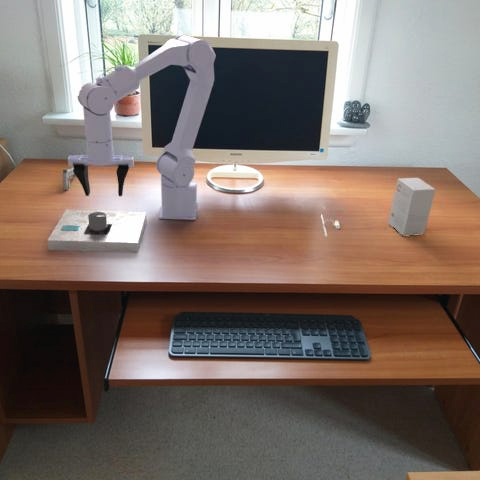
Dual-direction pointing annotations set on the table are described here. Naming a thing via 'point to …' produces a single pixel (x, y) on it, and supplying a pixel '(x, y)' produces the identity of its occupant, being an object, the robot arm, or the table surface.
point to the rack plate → (78, 239)
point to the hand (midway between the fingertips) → (104, 194)
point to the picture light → (333, 224)
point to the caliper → (67, 177)
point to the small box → (411, 206)
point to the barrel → (97, 223)
